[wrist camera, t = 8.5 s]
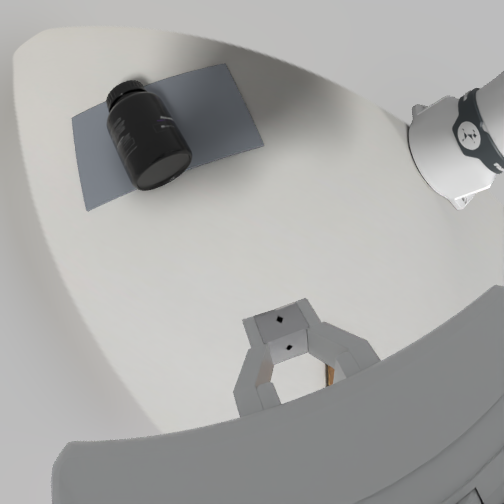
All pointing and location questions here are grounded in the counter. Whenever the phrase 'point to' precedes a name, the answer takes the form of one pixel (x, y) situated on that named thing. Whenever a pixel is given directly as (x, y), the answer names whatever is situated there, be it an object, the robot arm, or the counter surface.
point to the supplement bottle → (145, 136)
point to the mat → (187, 120)
